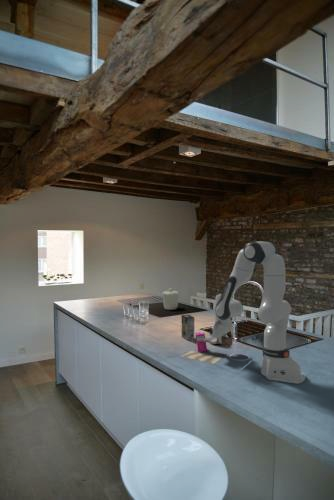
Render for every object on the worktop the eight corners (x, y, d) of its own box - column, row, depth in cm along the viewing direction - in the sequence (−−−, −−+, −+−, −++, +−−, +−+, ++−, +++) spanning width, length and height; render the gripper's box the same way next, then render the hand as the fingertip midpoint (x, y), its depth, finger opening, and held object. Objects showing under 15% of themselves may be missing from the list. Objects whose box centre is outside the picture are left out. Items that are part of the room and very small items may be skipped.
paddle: (233, 343, 210) (234, 337, 210) (228, 347, 204) (229, 340, 203) (208, 337, 219) (209, 331, 219) (203, 341, 213) (203, 334, 212)
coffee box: (181, 336, 251) (181, 315, 250) (189, 335, 253) (189, 314, 253) (186, 340, 242) (186, 317, 242) (194, 339, 245) (194, 316, 244)
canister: (176, 311, 337) (176, 290, 337) (159, 310, 344) (159, 289, 343) (181, 307, 354) (181, 287, 354) (165, 306, 361) (165, 286, 360)
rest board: (222, 358, 205) (222, 357, 205) (213, 365, 195) (213, 363, 195) (191, 352, 217) (191, 350, 217) (181, 357, 207) (181, 356, 207)
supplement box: (197, 349, 221) (195, 332, 221) (207, 349, 221) (204, 331, 221) (197, 352, 216) (195, 335, 215) (207, 352, 215) (204, 334, 215)
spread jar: (208, 344, 234) (208, 327, 233) (213, 339, 243) (213, 323, 243) (224, 346, 228) (224, 329, 227) (230, 342, 238) (230, 325, 237)
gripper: (219, 323, 199) (219, 346, 200) (233, 316, 216) (233, 338, 217) (209, 322, 203) (209, 345, 203) (224, 315, 220) (224, 336, 220)
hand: (222, 341), depth 210 cm, fingers closed on paddle, 3 cm apart
